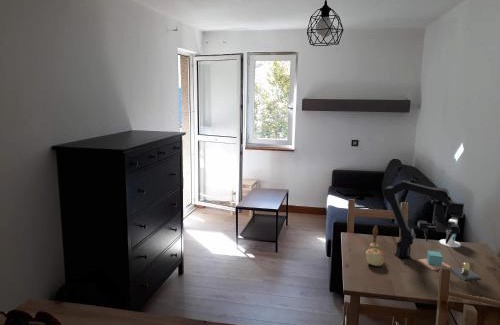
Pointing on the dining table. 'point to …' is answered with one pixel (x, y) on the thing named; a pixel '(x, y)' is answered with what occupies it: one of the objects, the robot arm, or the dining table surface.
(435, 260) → the teal cube
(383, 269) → the dining table surface
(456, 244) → the white stand
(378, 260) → the apple
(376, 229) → the hand bell
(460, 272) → the post base
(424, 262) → the tile
